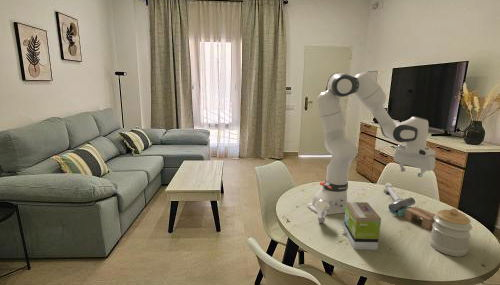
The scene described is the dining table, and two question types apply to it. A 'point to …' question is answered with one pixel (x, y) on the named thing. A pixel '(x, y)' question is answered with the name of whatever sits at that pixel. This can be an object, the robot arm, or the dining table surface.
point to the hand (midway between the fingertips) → (411, 174)
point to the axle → (401, 204)
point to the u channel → (400, 211)
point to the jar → (451, 232)
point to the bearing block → (416, 213)
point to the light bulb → (322, 209)
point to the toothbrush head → (391, 192)
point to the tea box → (362, 225)
